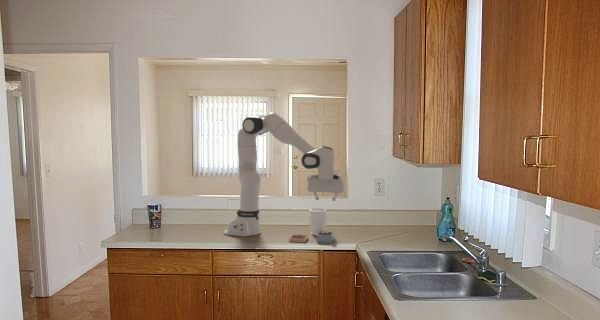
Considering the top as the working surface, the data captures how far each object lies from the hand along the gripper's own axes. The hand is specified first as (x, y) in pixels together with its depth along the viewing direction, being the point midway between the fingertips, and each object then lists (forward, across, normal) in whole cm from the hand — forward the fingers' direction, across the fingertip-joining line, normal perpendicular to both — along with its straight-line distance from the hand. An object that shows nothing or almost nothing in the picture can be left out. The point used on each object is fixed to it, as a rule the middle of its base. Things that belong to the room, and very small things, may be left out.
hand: (325, 200), depth 234 cm
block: (+23, 0, 0) cm, 23 cm away
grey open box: (+24, 0, 0) cm, 24 cm away
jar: (+24, -7, +17) cm, 30 cm away
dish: (+24, -15, -1) cm, 28 cm away
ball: (+23, -15, -1) cm, 28 cm away
